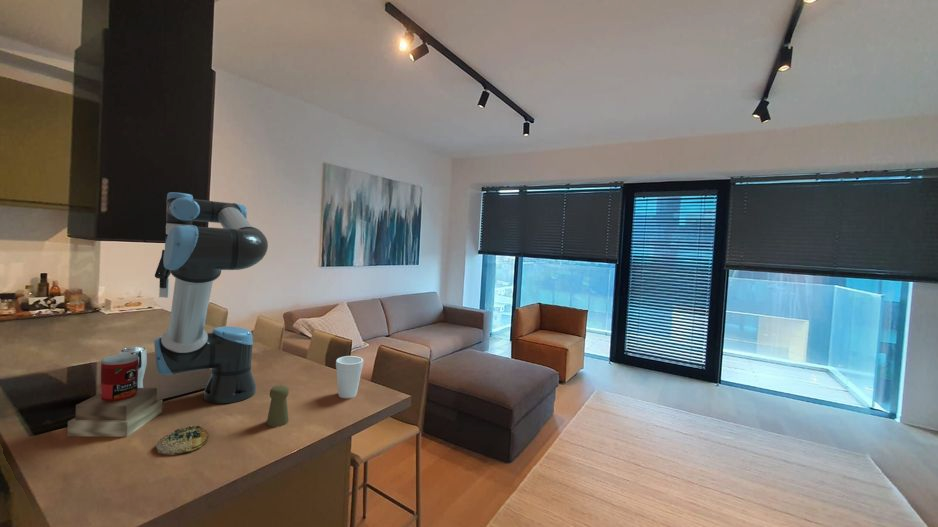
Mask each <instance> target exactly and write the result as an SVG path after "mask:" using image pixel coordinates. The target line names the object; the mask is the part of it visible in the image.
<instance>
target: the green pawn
mask: <svg viewBox="0 0 938 527" xmlns="http://www.w3.org/2000/svg"><path fill="white" fill-rule="evenodd" d="M288 395H289V387H288V386H287V385H284V384H283V385H282V384H280V385H279V384H278V385H274V386H273V387H272V388H271V389H270V390H269V398H271V400H270V404H269V408H268V409H269V410H268V414H267V420H266V426H268V427H270V426H272V427H271V428H278V427H277V426H279V427H283V426H285V425H286V424H288V423H289V420H290V419H289V412H288V401H287V400H288V399H287V398H288ZM282 425H283V426H282Z"/></svg>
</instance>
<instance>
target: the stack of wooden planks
mask: <svg viewBox="0 0 938 527" xmlns="http://www.w3.org/2000/svg"><path fill="white" fill-rule="evenodd" d="M100 394H101V392H100V393H98V394H96V395H94V396H92V397H89V398H88V399H86V400H84V401H81V402H79V403H77V404H76V405H75V417H73V418H71V419H69V420H68V421H67V437H108V438H109V437H110V438H111V437H112V438H113V437H114V438H115V437H116V438H117V437H121V438H123V437H126V438H128V437H129V436H131V435H132V434H133V433H135V432H136V431H138V430H140V428H142V427H143V426H144V425H146V424H148V423H149V422H151V421H152V420H153V419H155V418H157V417H158V416H159V415H161V414H162V413H163V403H164V402H163V399H157V398H158V388H157V387H143V388H137V393H136V395H134V396H133V397H131V398H128V399H125V400H120V401H104V400H102V399H101V396H100Z"/></svg>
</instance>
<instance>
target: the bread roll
mask: <svg viewBox="0 0 938 527" xmlns="http://www.w3.org/2000/svg"><path fill="white" fill-rule="evenodd" d="M209 439H210V438H209V431H208V430H207V429H206V428H203V427H202V426H201V425H196V426H194V425H190V426H186V427H183V428H178V429H175V430H174V431H173V432H171V433H169V434H167V435H165V436H163V437H162V438H160V440H159V441H157V443H156V444H155V446H154V447H155V448H156V451H157V454H163V455H167V456H169V455H170V456H174V455H175V456H176V455H180V454H183V453H190V452H193V451H196V450H199V449H200V448H202V447H203V446H205V444H207V442H208V441H209Z"/></svg>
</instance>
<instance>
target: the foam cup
mask: <svg viewBox="0 0 938 527" xmlns="http://www.w3.org/2000/svg"><path fill="white" fill-rule="evenodd" d="M363 367H364V359H363V357H360V356H355V355H345V356H341V357H338V358H336V360H335V369H336V379H337V392H338V397H339V398H341V399H352V398H353V399H354V398H355V397H356V396H357V394H358V389H359V385H360V379H361V376H362V375H361V374H362V369H363Z"/></svg>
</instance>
